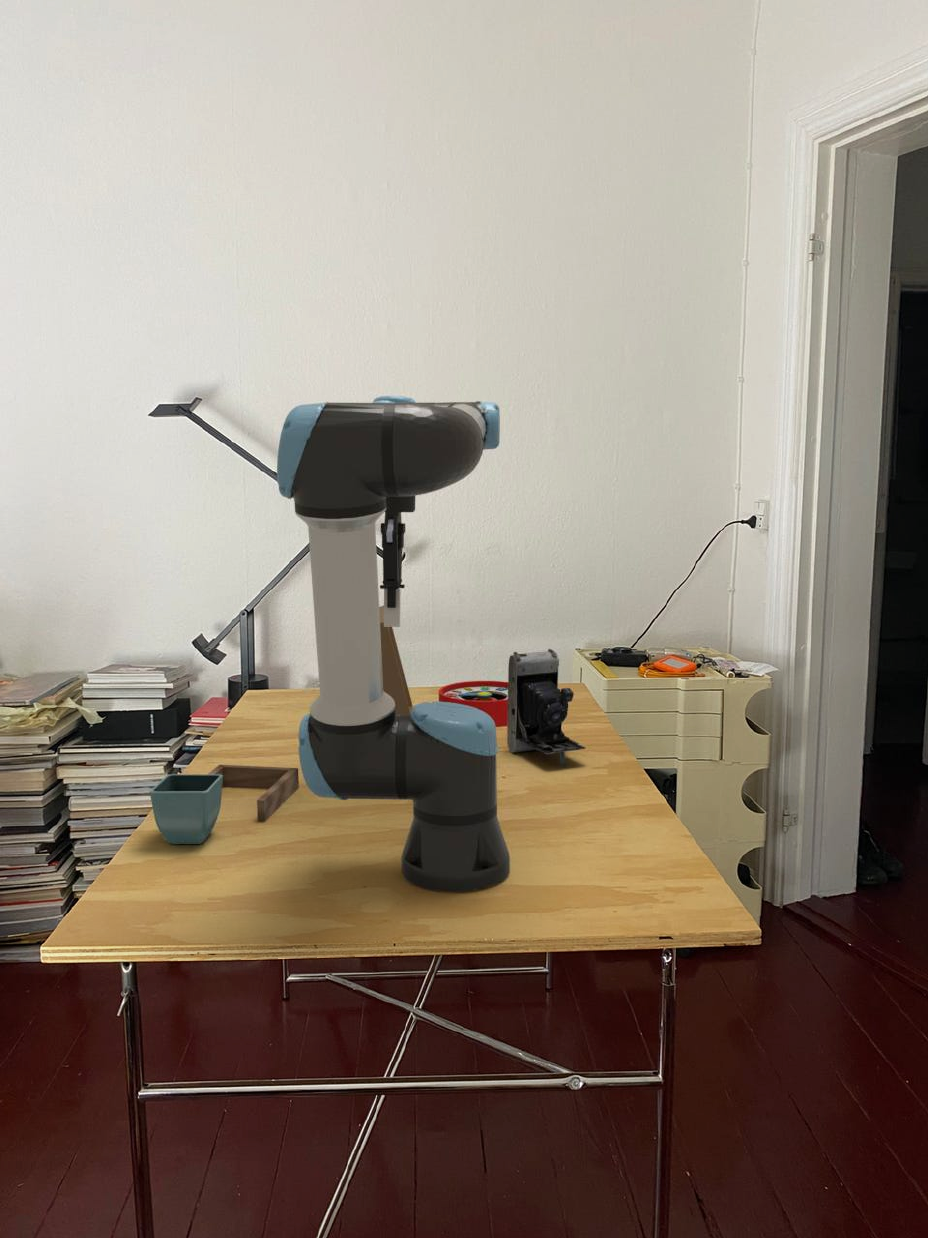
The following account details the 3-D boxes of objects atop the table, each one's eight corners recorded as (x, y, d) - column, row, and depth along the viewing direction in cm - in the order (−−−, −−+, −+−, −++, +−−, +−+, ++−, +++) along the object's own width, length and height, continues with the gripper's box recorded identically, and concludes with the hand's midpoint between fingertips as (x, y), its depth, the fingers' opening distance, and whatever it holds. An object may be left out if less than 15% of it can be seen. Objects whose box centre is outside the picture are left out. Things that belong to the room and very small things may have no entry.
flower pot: (170, 828, 166) (167, 773, 165) (226, 829, 166) (223, 773, 164) (151, 849, 158) (148, 791, 156) (210, 850, 157) (207, 792, 156)
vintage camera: (542, 774, 193) (546, 668, 190) (504, 750, 207) (507, 650, 203) (588, 769, 197) (593, 664, 193) (548, 744, 211) (552, 646, 207)
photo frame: (414, 717, 233) (412, 604, 229) (417, 745, 211) (415, 621, 207) (346, 719, 232) (343, 605, 228) (342, 747, 210) (338, 622, 206)
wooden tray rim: (264, 821, 169) (264, 800, 168) (179, 817, 171) (178, 796, 171) (298, 787, 186) (298, 768, 185) (220, 783, 188) (219, 764, 187)
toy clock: (530, 701, 223) (434, 701, 224) (530, 729, 224) (435, 728, 225) (529, 680, 242) (442, 680, 243) (529, 705, 243) (442, 705, 244)
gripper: (376, 489, 188) (374, 622, 191) (366, 487, 175) (365, 629, 178) (418, 490, 188) (416, 623, 190) (412, 488, 175) (410, 630, 177)
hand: (391, 626), depth 184 cm, fingers closed
